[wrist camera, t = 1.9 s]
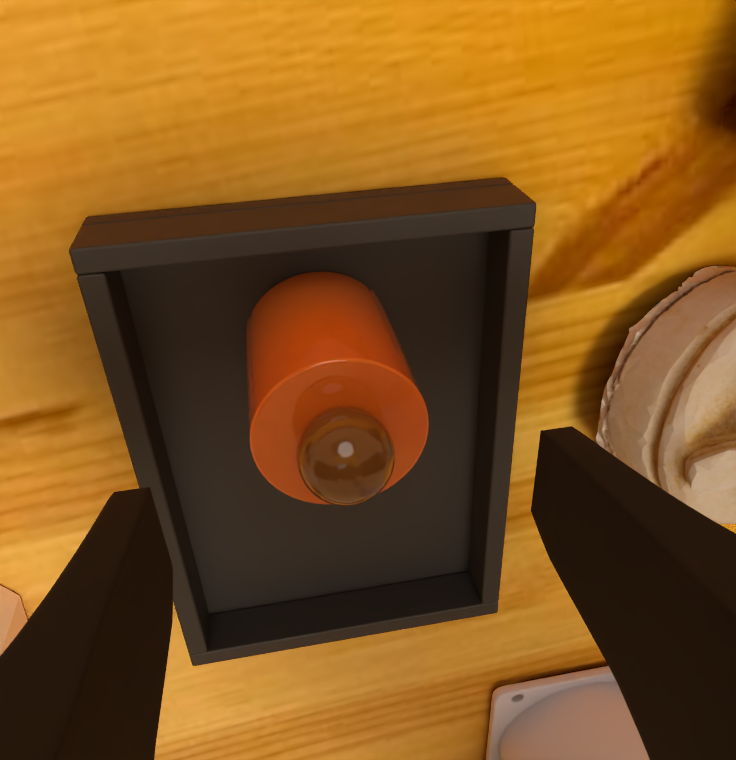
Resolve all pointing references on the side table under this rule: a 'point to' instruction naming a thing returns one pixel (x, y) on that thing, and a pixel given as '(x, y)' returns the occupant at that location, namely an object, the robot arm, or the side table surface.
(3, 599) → the mug
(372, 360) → the orange cylinder with knob
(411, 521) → the tray
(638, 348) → the figurine
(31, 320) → the side table surface
